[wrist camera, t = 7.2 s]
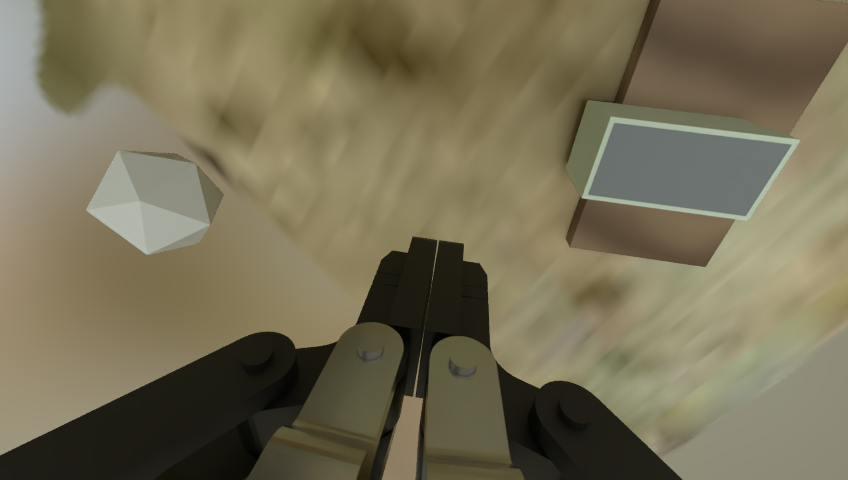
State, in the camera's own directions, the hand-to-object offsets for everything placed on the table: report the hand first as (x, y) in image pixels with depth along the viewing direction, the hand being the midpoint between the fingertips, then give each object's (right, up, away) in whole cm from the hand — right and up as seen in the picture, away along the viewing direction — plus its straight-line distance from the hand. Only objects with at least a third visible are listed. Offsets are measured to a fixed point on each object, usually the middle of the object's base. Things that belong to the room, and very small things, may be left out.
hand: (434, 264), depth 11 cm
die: (-22, +6, +23) cm, 32 cm away
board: (+18, +8, +15) cm, 25 cm away
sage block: (+10, +7, +13) cm, 18 cm away
